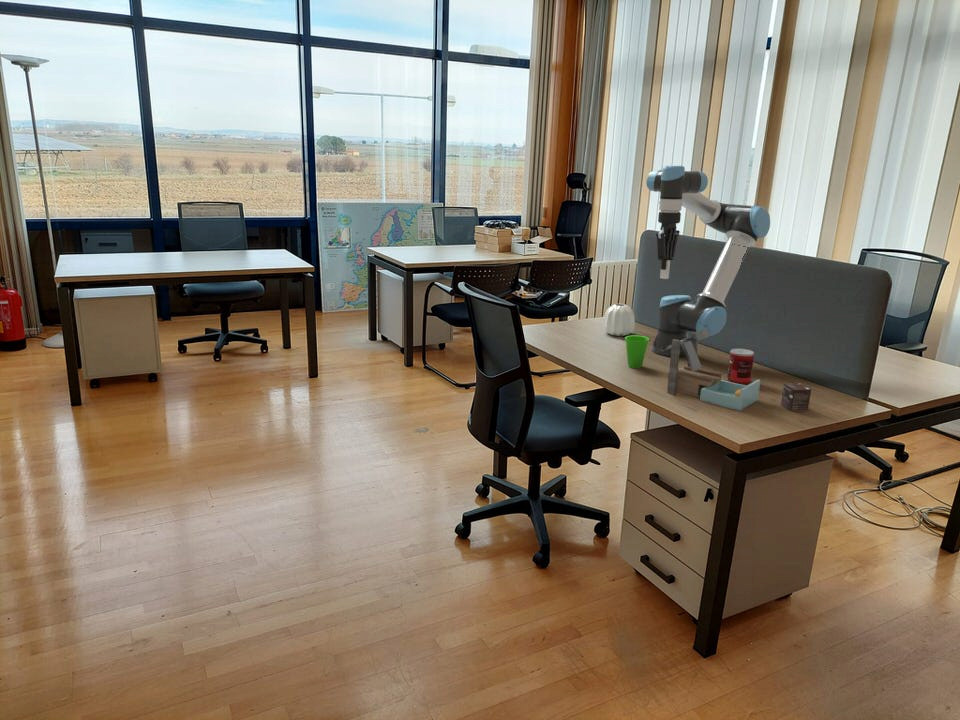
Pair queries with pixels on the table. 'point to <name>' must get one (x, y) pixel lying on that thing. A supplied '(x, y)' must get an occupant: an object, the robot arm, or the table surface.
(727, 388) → the light blue tray
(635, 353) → the cup
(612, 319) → the vase
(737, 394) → the ball
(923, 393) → the table surface
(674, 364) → the grey angular frame
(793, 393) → the box
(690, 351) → the lever
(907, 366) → the table surface
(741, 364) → the canned food
